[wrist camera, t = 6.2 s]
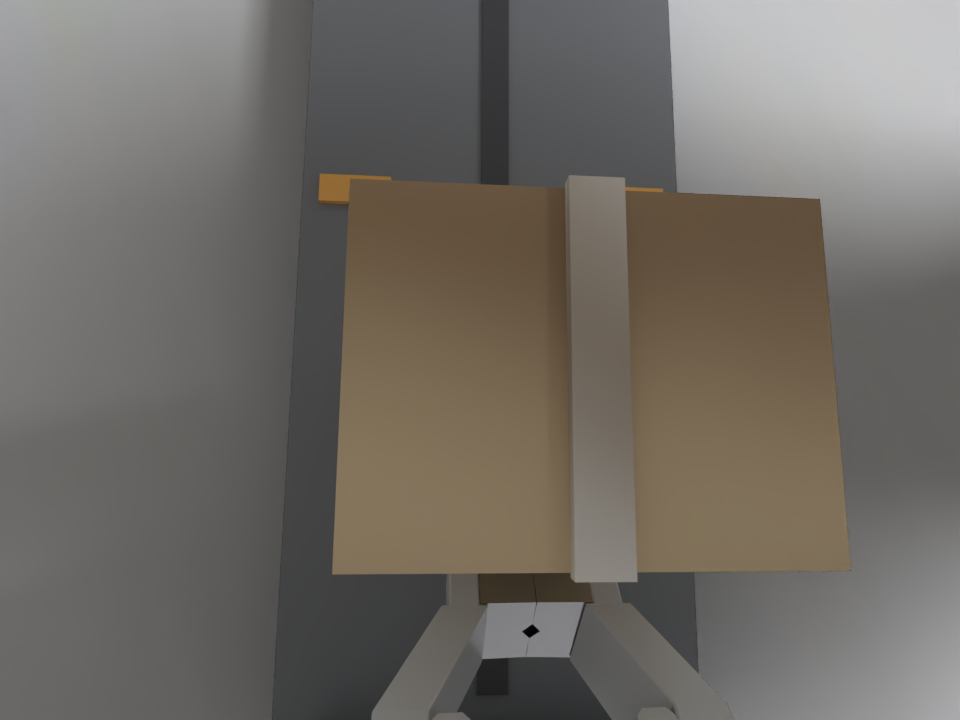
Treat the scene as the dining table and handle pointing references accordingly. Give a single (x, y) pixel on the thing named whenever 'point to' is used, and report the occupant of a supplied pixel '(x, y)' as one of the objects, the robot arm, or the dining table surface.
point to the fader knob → (585, 383)
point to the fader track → (322, 270)
